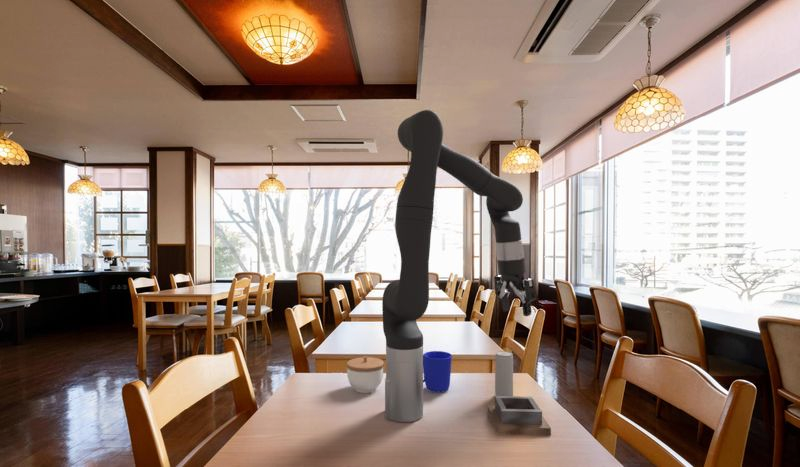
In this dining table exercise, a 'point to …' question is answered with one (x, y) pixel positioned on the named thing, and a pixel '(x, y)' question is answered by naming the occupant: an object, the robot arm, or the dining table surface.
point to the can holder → (517, 416)
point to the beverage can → (503, 373)
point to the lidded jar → (365, 373)
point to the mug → (437, 370)
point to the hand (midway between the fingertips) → (516, 313)
